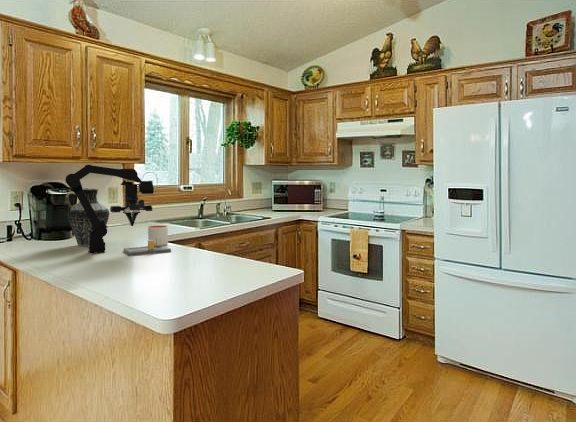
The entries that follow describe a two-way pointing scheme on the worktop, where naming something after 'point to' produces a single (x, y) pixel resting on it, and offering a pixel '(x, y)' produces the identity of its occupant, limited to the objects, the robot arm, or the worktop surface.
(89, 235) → the robot arm
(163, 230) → the cup
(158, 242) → the fader
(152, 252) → the grey rectangular panel
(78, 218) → the dark patterned vase
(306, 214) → the worktop surface
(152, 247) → the fader
